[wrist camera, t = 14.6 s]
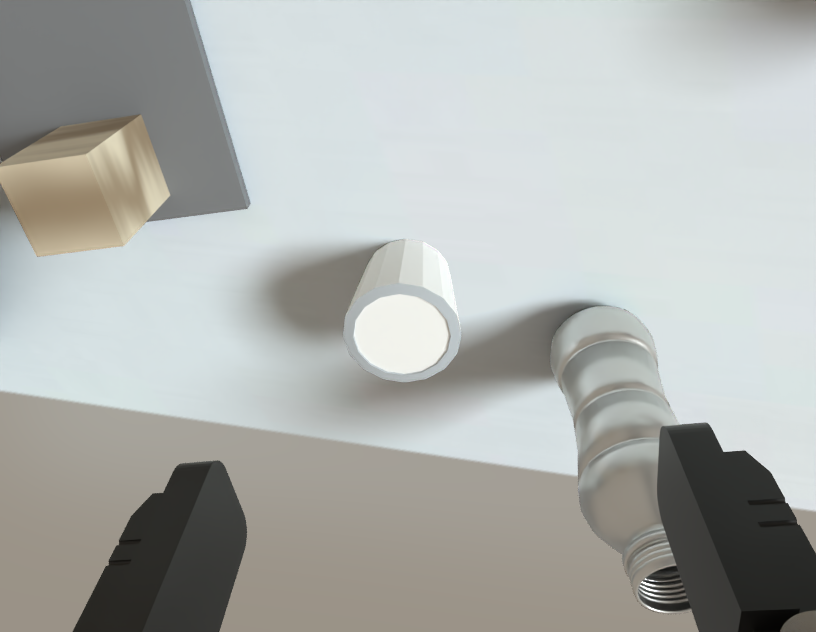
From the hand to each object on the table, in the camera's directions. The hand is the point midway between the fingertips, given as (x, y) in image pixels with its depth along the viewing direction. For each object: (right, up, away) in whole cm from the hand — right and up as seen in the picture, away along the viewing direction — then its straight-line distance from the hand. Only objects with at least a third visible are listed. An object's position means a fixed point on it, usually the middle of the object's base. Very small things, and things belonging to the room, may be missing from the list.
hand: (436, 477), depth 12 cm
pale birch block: (-18, +12, +28) cm, 35 cm away
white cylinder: (0, +6, +32) cm, 33 cm away
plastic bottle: (+12, +2, +34) cm, 36 cm away
